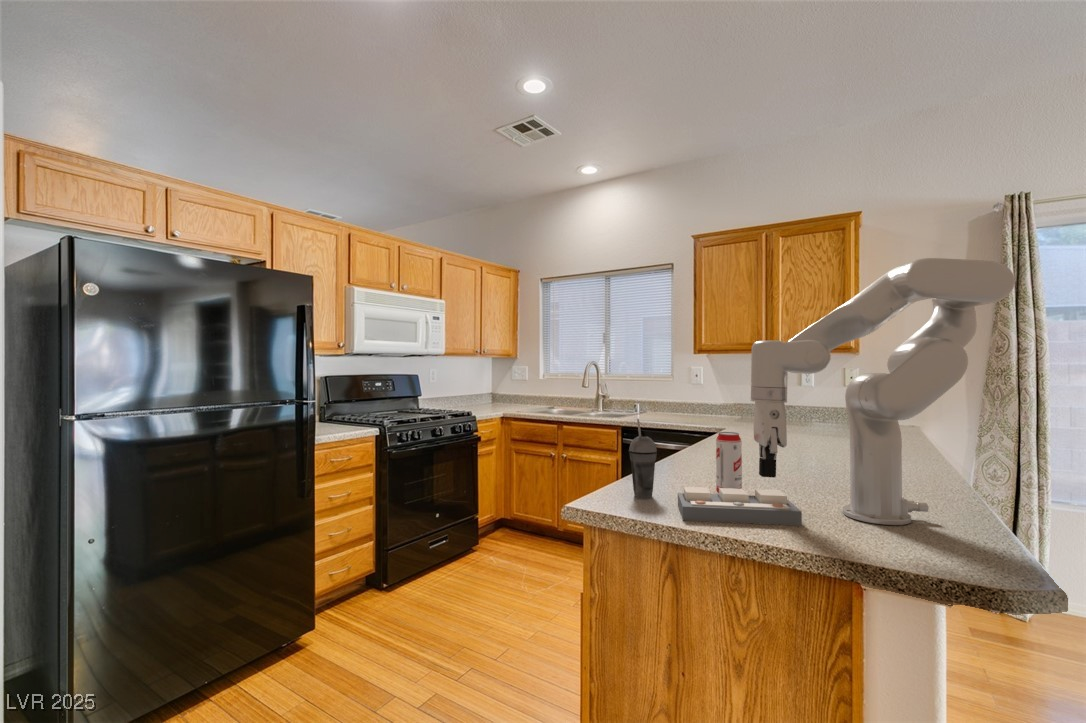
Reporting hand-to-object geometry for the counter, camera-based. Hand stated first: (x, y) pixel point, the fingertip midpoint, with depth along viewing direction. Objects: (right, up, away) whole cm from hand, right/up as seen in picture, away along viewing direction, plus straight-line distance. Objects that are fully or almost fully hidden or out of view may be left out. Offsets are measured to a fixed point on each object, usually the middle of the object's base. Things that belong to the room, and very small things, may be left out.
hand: (767, 476), depth 113 cm
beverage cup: (-25, -9, +16) cm, 31 cm away
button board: (-8, -9, -1) cm, 11 cm away
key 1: (-15, -7, +3) cm, 17 cm away
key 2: (+1, -7, 0) cm, 7 cm away
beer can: (-2, -9, +17) cm, 19 cm away
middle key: (-7, -7, +1) cm, 10 cm away
